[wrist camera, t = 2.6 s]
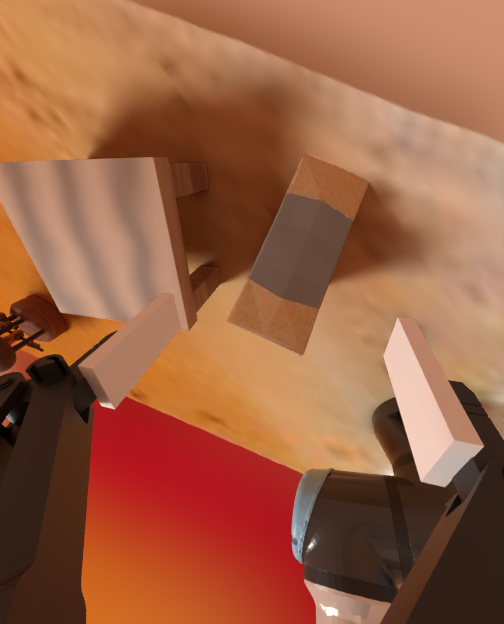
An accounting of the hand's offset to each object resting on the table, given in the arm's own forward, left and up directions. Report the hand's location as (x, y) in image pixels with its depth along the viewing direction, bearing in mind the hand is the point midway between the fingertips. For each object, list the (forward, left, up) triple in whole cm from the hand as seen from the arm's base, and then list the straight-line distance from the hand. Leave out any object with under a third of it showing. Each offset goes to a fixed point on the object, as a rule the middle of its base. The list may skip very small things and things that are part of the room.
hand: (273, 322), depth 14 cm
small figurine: (+56, +21, -21) cm, 64 cm away
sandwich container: (-1, 0, -22) cm, 22 cm away
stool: (+22, 0, -21) cm, 30 cm away
